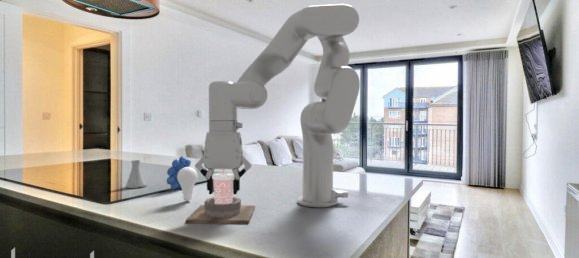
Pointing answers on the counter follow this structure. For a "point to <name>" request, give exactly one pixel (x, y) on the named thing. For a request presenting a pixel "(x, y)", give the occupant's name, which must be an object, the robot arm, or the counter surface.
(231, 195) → the beverage cup
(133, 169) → the flask
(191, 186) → the lightbulb
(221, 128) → the robot arm
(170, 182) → the grapes
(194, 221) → the coaster board
